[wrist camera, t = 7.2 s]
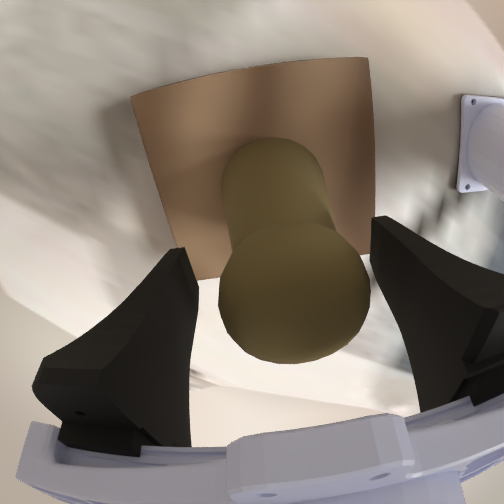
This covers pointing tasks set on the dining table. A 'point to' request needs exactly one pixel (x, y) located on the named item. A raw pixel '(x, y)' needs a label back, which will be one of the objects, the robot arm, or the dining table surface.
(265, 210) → the olive bulb-shaped piece
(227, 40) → the dining table surface
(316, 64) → the tan square board
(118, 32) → the dining table surface
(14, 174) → the dining table surface
